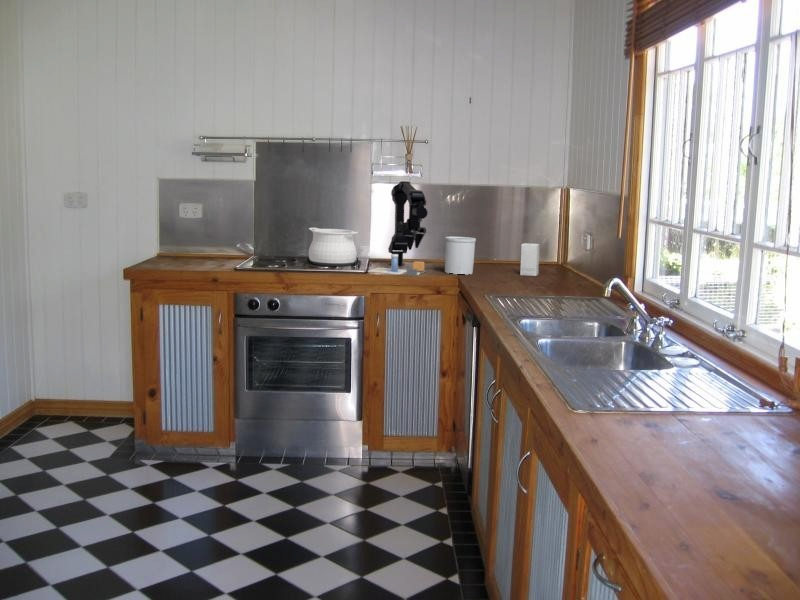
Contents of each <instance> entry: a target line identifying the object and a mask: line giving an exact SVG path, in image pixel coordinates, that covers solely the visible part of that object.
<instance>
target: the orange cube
mask: <svg viewBox="0 0 800 600" xmlns="http://www.w3.org/2000/svg"><path fill="white" fill-rule="evenodd" d="M412 264H413V265H412V269H417V271H423V270H425V261H418V260H417V261H416V260H415V261H413V263H412Z"/></svg>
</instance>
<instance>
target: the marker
mask: <svg viewBox="0 0 800 600" xmlns="http://www.w3.org/2000/svg"><path fill="white" fill-rule="evenodd" d="M390 254H391V255H390V256H391V257H390V258H391V259H390V260H391V262H390V263H391V265H390V267H391V268H390V269H391V271H392V272H397V271H398V269H399V265H398V254H392V253H390Z"/></svg>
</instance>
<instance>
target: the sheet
mask: <svg viewBox="0 0 800 600" xmlns="http://www.w3.org/2000/svg"><path fill="white" fill-rule="evenodd" d="M367 272H368V273H378V274H387V275H388V274H390V275H398V274H399V275H402V274H405V273H407V269H402V268H401V269H399V268H398V271H397V272H392V271H391V268H388V267H377V268H376V267H375V268H372V269H369V270H367ZM404 272H405V273H404Z"/></svg>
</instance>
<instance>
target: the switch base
mask: <svg viewBox="0 0 800 600" xmlns="http://www.w3.org/2000/svg"><path fill="white" fill-rule="evenodd" d="M406 270H407V272H406V276H414V277H417V275H418V276H419V274H420V275H422V274H421V273H423V274H425V273H424V272H426V273H427V271H426V270H425V269H424V270H423V271H417V269H413V268H406Z"/></svg>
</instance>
